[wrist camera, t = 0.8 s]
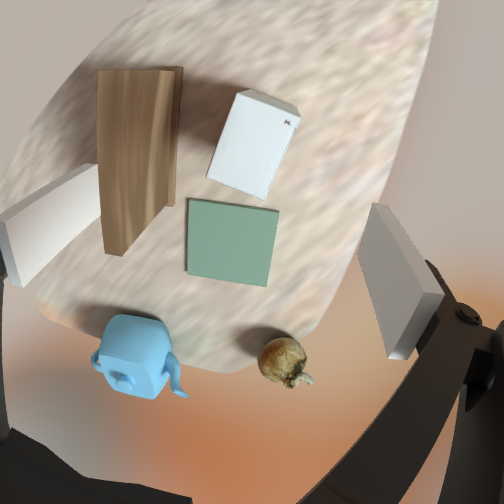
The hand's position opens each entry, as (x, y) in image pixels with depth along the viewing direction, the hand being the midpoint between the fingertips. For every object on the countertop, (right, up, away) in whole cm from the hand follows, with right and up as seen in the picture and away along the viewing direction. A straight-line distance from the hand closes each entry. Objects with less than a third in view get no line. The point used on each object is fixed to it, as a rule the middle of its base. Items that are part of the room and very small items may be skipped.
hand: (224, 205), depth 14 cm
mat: (-2, -1, +27) cm, 27 cm away
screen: (-9, +11, +21) cm, 25 cm away
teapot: (-16, -17, +38) cm, 45 cm away
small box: (+2, +12, +20) cm, 23 cm away
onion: (+6, -17, +36) cm, 40 cm away
